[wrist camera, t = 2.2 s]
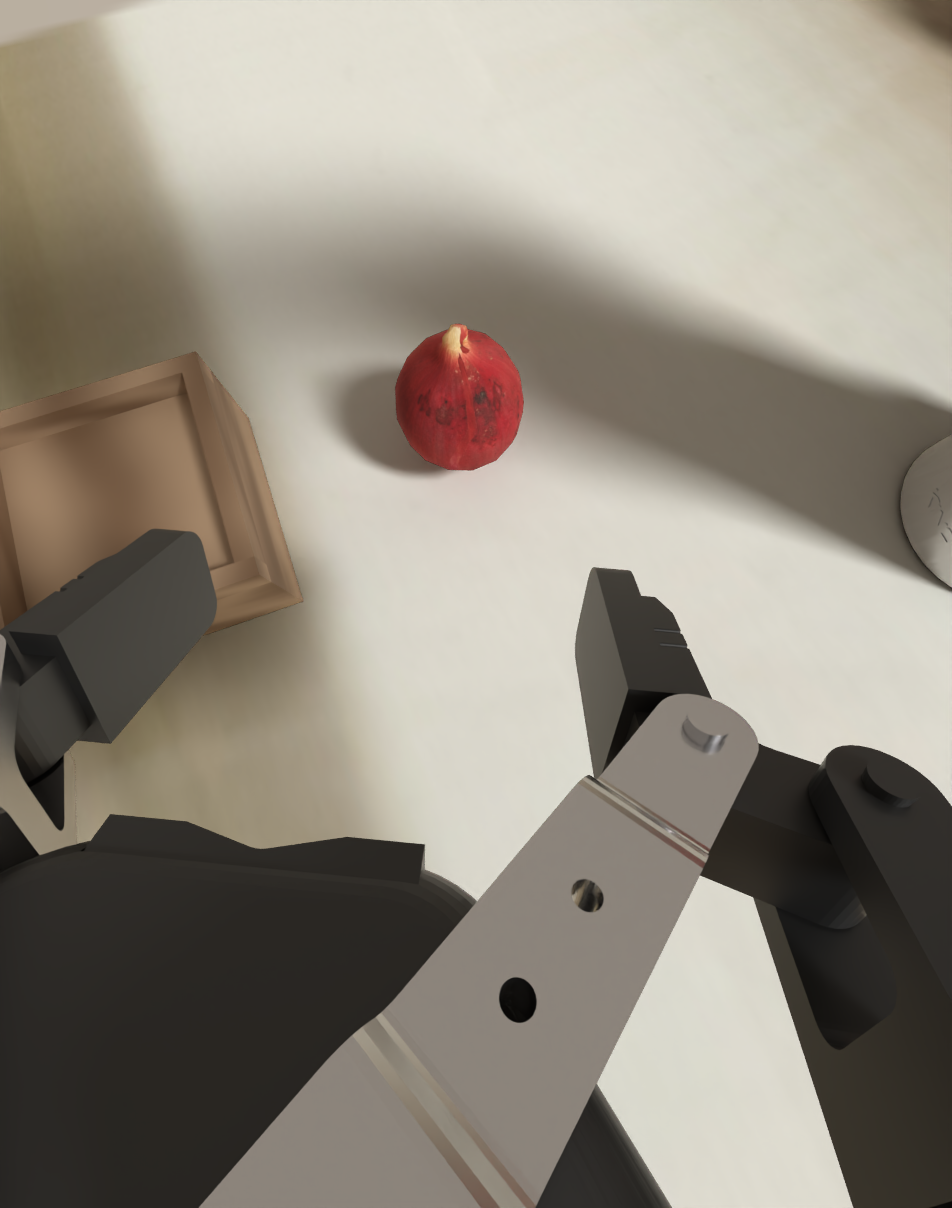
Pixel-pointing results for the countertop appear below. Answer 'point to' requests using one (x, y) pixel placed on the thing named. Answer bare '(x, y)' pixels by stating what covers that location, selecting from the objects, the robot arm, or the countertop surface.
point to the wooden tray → (139, 487)
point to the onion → (459, 399)
